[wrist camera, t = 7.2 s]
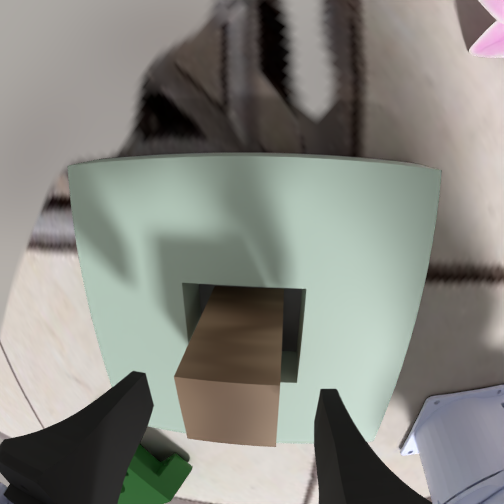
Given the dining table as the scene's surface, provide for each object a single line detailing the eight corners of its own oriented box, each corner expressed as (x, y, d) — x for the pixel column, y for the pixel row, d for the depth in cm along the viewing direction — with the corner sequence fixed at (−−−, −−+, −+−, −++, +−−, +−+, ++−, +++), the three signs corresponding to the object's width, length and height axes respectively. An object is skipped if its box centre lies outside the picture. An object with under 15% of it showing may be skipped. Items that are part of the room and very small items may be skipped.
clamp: (158, 412, 31) (128, 447, 22) (200, 448, 30) (182, 492, 21) (101, 464, 30) (67, 499, 21) (138, 496, 29) (113, 537, 20)
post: (283, 288, 19) (280, 385, 11) (281, 345, 20) (275, 446, 12) (214, 286, 19) (173, 376, 12) (218, 341, 20) (187, 438, 13)
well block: (414, 162, 16) (441, 170, 13) (366, 407, 22) (373, 441, 19) (101, 158, 17) (67, 165, 14) (140, 391, 24) (124, 421, 20)
